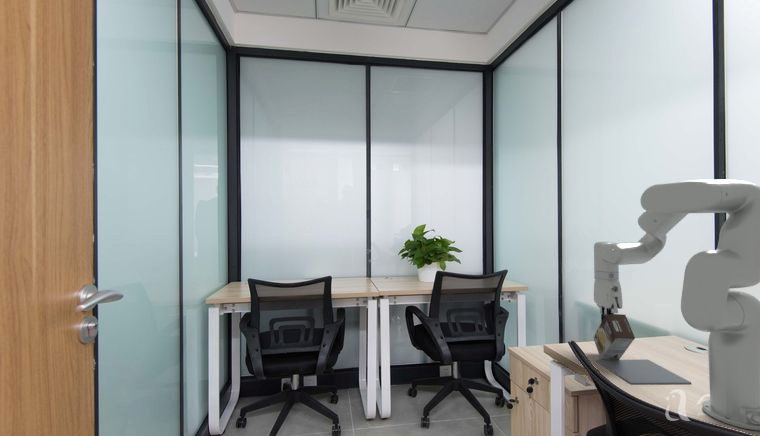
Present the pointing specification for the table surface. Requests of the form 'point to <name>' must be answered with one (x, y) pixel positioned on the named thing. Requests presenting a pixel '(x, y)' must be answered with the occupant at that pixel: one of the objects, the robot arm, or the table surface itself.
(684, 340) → the table surface
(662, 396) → the table surface
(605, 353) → the coffee box
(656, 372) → the rubber mat
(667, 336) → the table surface
